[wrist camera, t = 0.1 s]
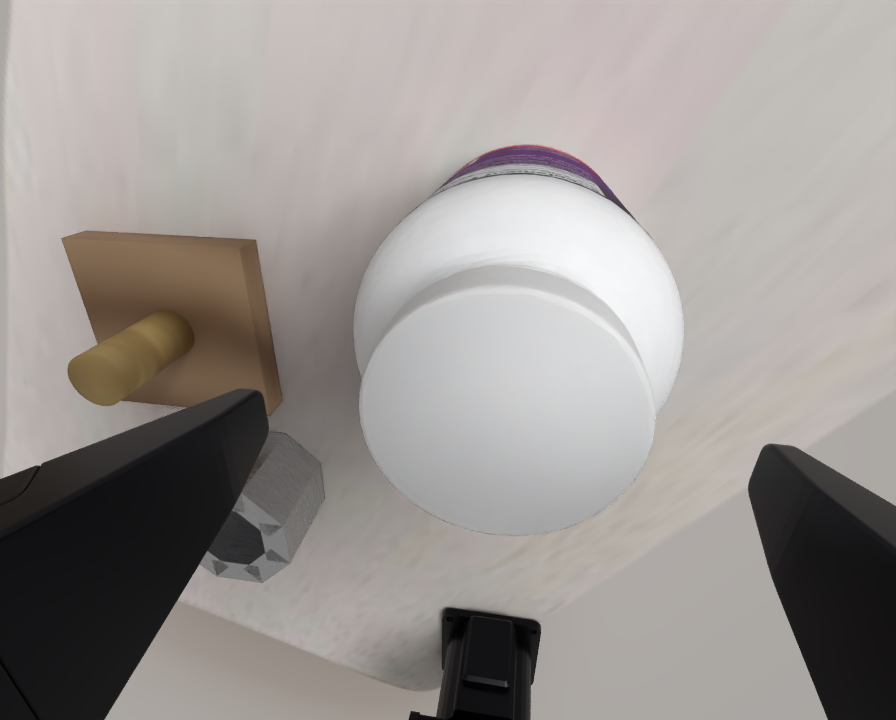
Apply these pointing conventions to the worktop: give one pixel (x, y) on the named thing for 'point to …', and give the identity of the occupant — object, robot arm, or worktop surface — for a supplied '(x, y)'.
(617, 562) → the worktop surface
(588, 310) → the pill bottle
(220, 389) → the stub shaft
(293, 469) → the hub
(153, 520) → the robot arm
